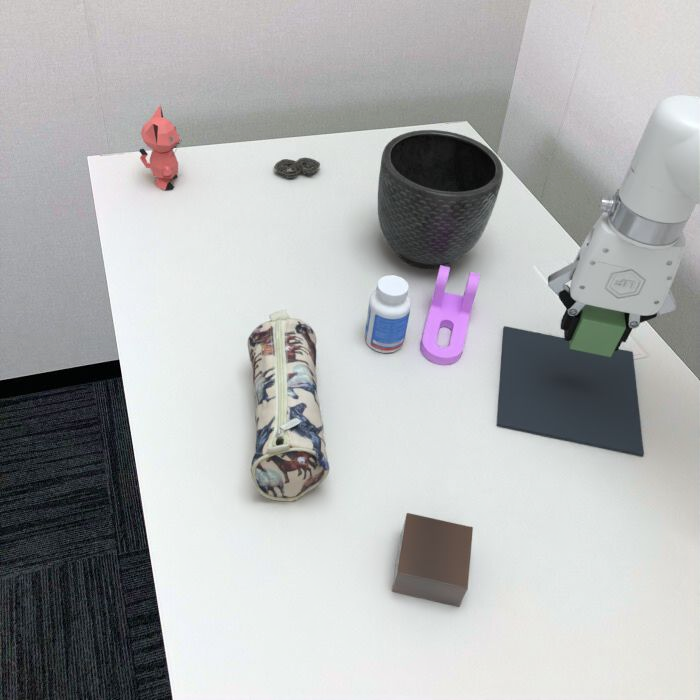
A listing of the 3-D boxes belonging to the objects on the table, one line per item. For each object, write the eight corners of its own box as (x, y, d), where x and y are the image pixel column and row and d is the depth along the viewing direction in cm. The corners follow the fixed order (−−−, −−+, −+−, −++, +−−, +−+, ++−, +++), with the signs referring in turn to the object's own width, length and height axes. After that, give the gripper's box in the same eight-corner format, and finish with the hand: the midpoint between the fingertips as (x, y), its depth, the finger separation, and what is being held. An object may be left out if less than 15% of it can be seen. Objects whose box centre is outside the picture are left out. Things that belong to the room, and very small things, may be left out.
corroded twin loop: (323, 176, 126) (324, 171, 125) (278, 181, 123) (278, 175, 123) (315, 160, 129) (315, 155, 128) (270, 165, 127) (270, 159, 126)
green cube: (608, 329, 92) (623, 299, 88) (610, 357, 88) (626, 327, 85) (568, 321, 92) (581, 291, 89) (569, 348, 89) (582, 319, 85)
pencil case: (328, 503, 81) (335, 450, 74) (250, 506, 80) (250, 453, 73) (313, 358, 96) (317, 303, 89) (247, 359, 95) (246, 304, 88)
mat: (631, 354, 102) (632, 351, 102) (642, 456, 90) (644, 454, 90) (503, 328, 104) (504, 325, 103) (496, 426, 91) (497, 423, 91)
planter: (466, 300, 107) (491, 209, 96) (354, 267, 110) (366, 175, 98) (488, 234, 119) (513, 146, 107) (387, 207, 121) (401, 118, 110)
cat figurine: (181, 195, 118) (175, 127, 110) (138, 191, 118) (128, 123, 109) (188, 171, 123) (183, 104, 115) (147, 167, 123) (138, 100, 114)
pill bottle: (411, 345, 100) (423, 291, 93) (379, 359, 97) (389, 305, 90) (388, 320, 102) (397, 266, 95) (356, 333, 100) (363, 279, 93)
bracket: (433, 297, 107) (441, 259, 102) (470, 305, 106) (481, 268, 101) (417, 359, 98) (425, 321, 93) (458, 369, 97) (469, 331, 92)
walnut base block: (465, 546, 79) (473, 526, 76) (459, 607, 74) (467, 589, 71) (401, 532, 80) (406, 512, 77) (391, 591, 75) (396, 573, 72)
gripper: (567, 221, 75) (520, 344, 88) (736, 254, 74) (662, 374, 87) (566, 181, 80) (521, 303, 93) (724, 211, 79) (656, 331, 92)
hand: (590, 336), depth 90 cm, fingers closed on green cube, 5 cm apart
